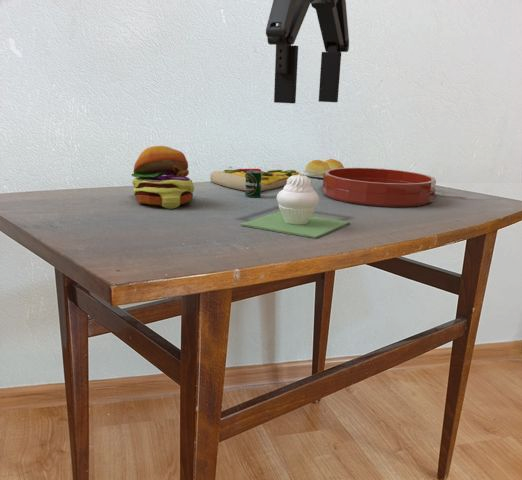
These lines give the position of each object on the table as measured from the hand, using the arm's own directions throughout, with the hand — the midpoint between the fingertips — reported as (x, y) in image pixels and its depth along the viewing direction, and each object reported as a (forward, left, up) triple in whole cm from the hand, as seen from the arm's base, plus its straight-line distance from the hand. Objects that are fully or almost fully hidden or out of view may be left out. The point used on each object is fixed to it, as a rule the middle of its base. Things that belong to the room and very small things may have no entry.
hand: (307, 102), depth 81 cm
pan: (-1, -32, -17) cm, 36 cm away
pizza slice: (+22, -30, -17) cm, 41 cm away
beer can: (+17, -16, -17) cm, 29 cm away
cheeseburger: (+25, 0, -17) cm, 30 cm away
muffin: (0, 0, -17) cm, 17 cm away
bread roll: (+17, -48, -17) cm, 53 cm away
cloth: (0, 0, -17) cm, 17 cm away
